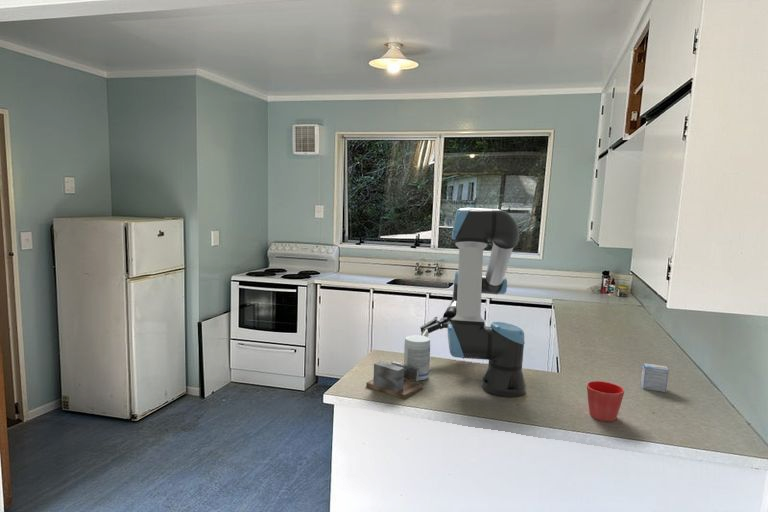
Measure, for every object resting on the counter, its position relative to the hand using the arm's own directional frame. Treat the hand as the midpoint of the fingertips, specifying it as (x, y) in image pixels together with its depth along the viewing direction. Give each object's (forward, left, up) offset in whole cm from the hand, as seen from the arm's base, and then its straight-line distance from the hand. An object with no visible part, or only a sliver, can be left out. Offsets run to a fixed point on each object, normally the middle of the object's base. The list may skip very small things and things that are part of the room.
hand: (437, 343), depth 187 cm
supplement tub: (+2, +12, -11) cm, 16 cm away
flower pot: (-61, +1, -11) cm, 62 cm away
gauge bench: (+2, +26, -11) cm, 28 cm away
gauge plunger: (+2, +22, -9) cm, 24 cm away
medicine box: (-71, -37, -11) cm, 81 cm away
